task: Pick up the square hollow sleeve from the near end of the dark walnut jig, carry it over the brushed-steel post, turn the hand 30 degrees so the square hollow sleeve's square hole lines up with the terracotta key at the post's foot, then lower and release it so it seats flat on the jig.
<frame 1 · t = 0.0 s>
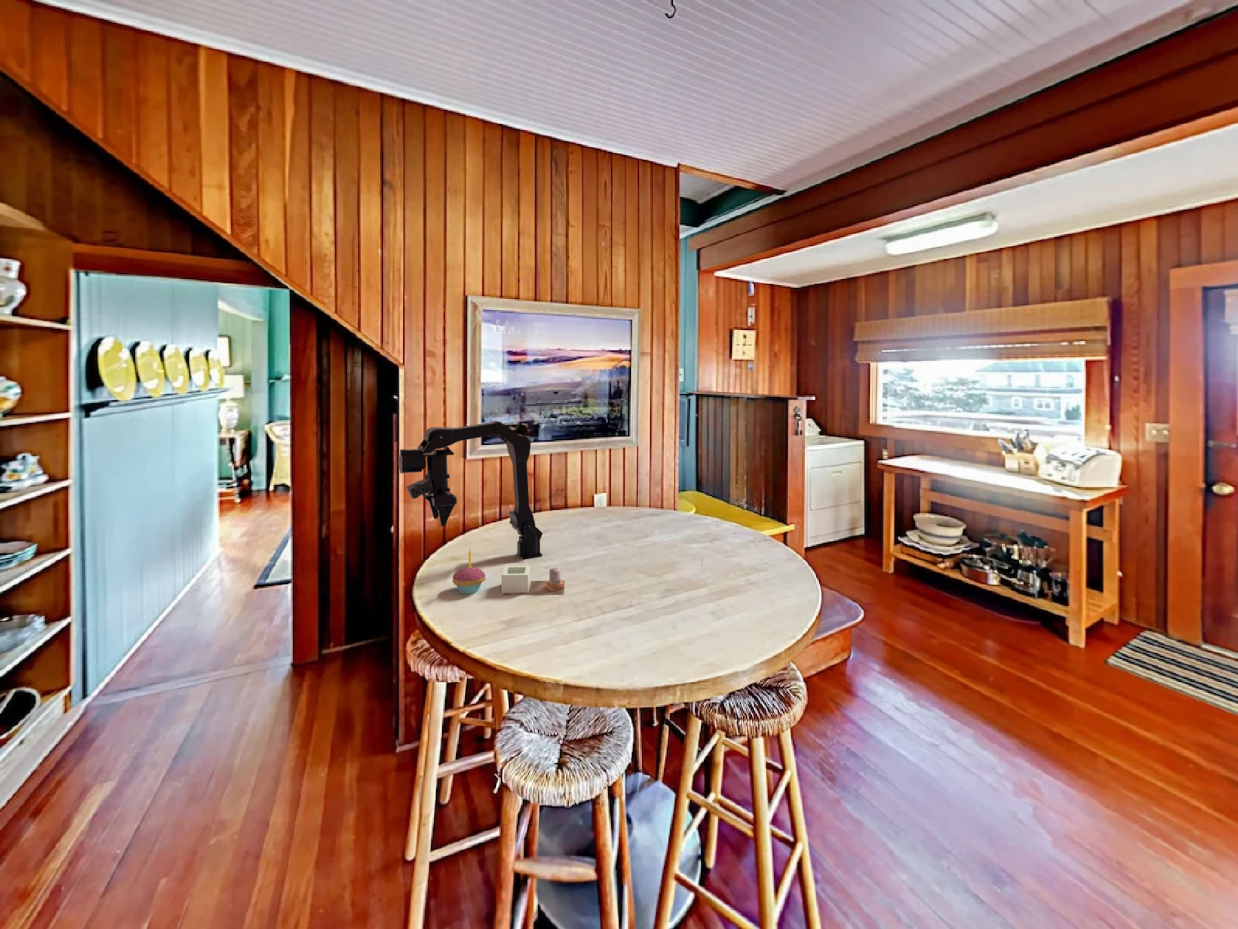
hand: (439, 522, 167), 15 cm above the table, fingers open, 9 cm apart
square hollow sleeve: (516, 587, 153), point 1 cm above the table, touching jig
jig: (534, 591, 154), on the table
cupcake: (469, 594, 152), on the table
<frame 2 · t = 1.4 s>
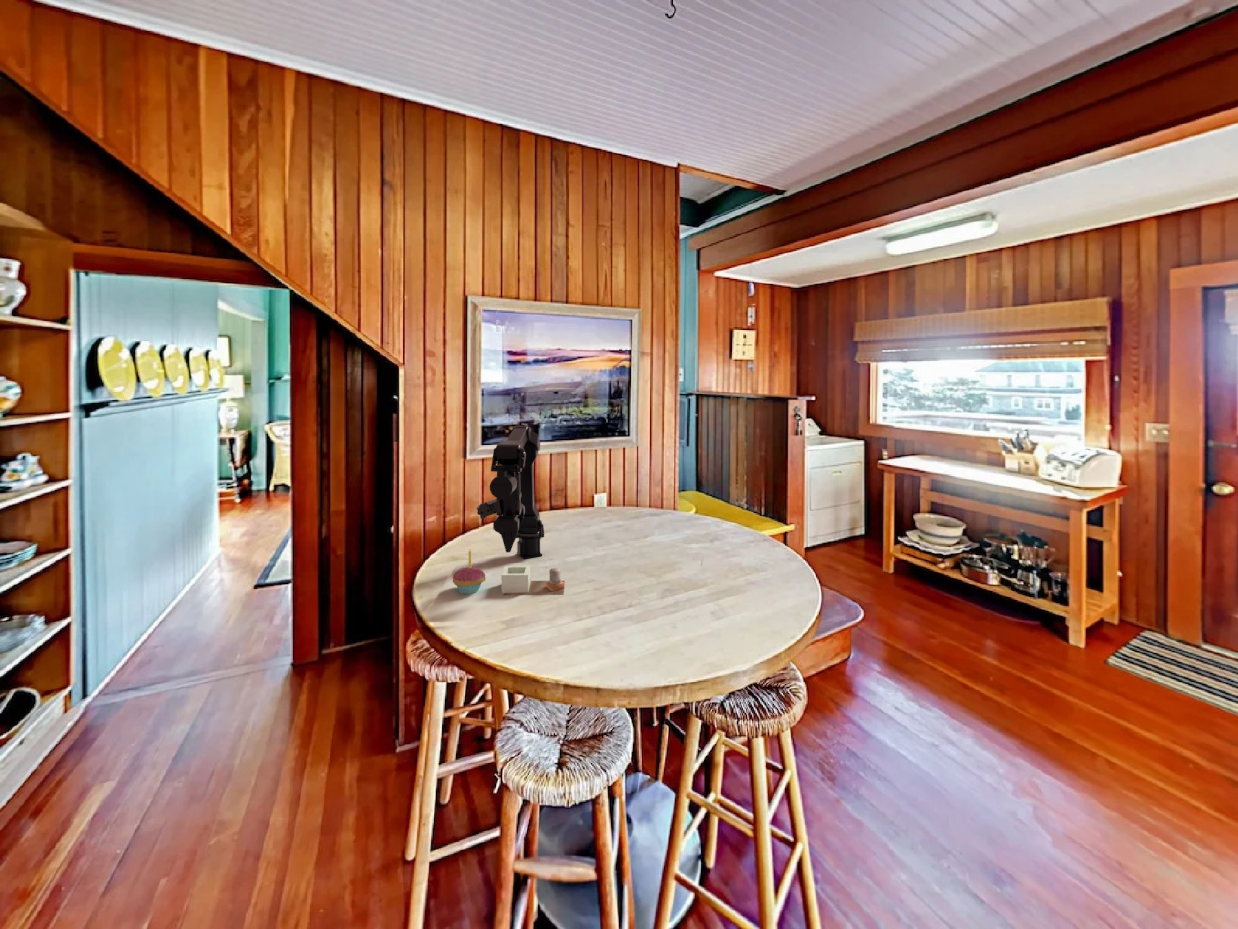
hand: (510, 546, 152), 12 cm above the table, fingers open, 9 cm apart
nothing on the table moved.
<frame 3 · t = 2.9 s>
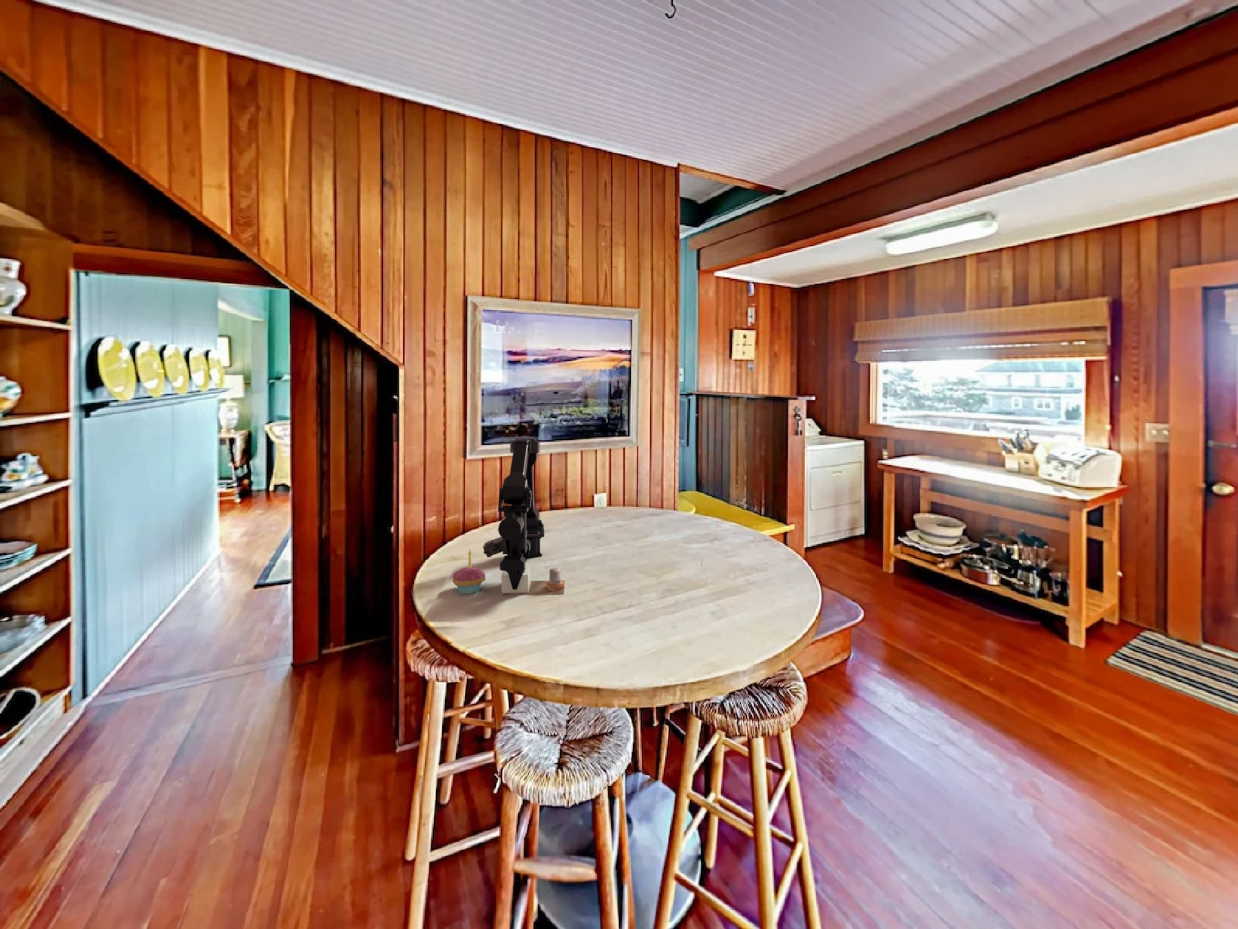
hand: (516, 584, 153), 2 cm above the table, fingers closed on square hollow sleeve, 7 cm apart
square hollow sleeve: (516, 587, 153), point 1 cm above the table, touching gripper, jig
everything else where it was.
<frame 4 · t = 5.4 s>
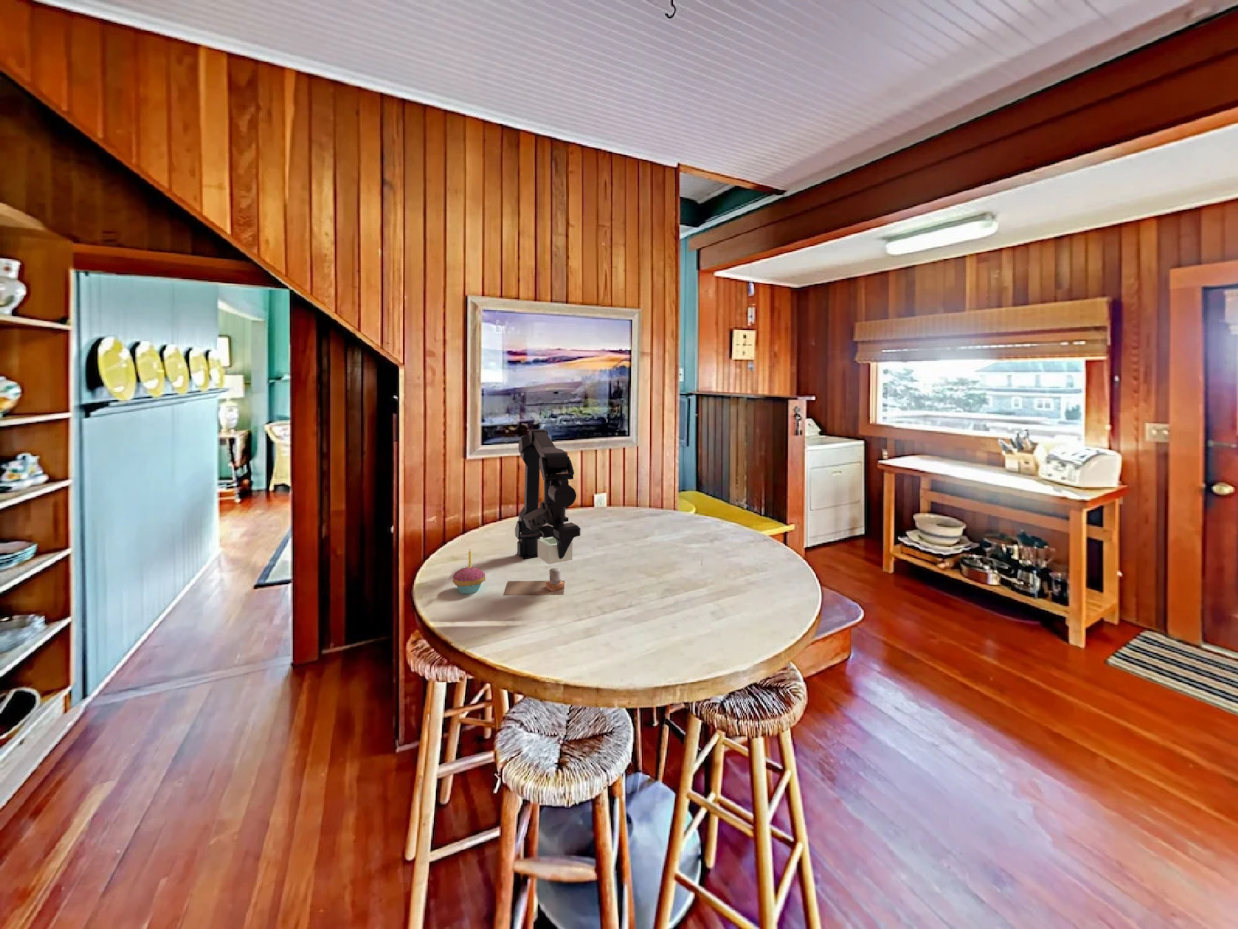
hand: (554, 554, 153), 10 cm above the table, fingers closed on square hollow sleeve, 7 cm apart
square hollow sleeve: (554, 558, 153), point 9 cm above the table, touching gripper
everything else where it was.
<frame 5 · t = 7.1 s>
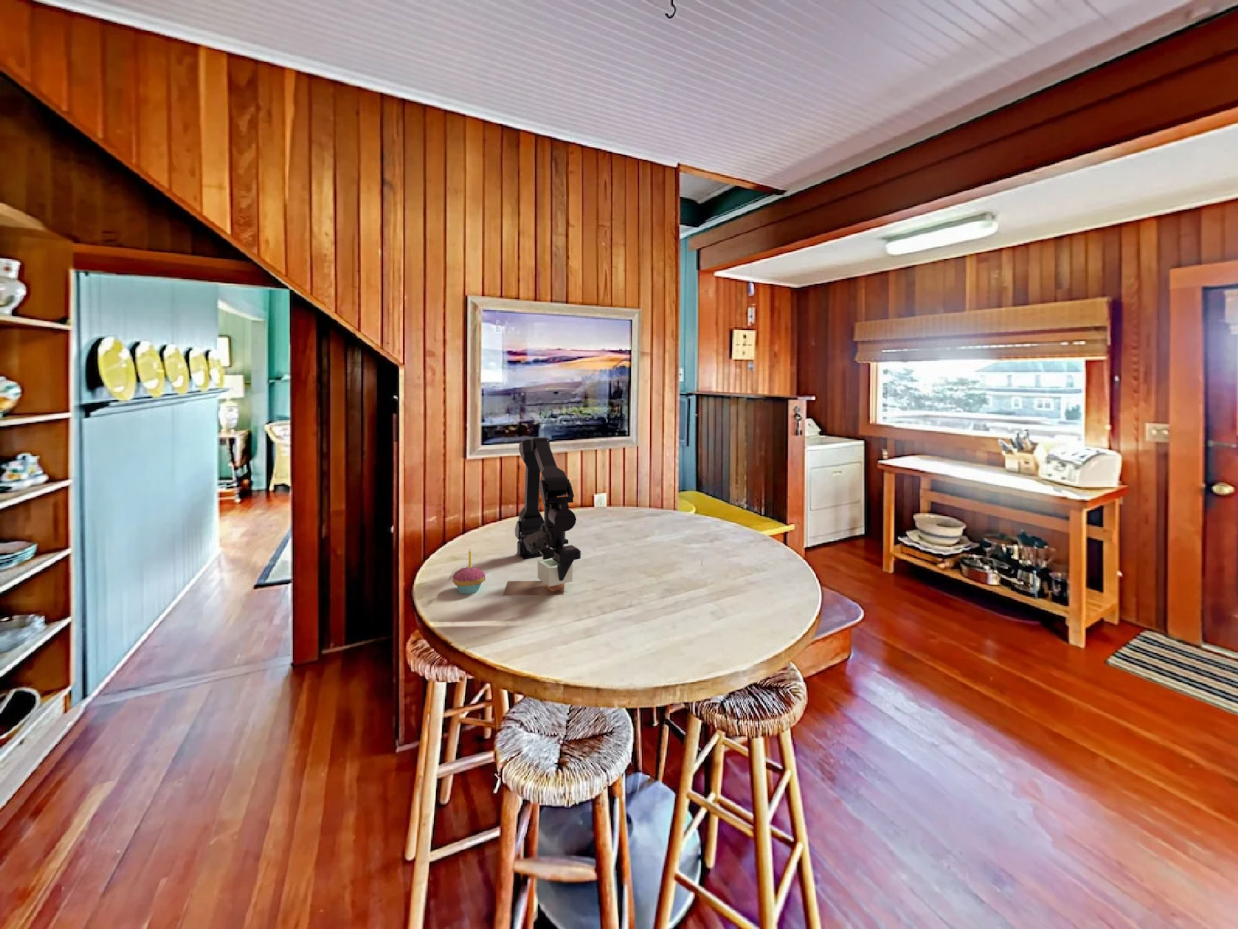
hand: (554, 576, 154), 4 cm above the table, fingers closed on square hollow sleeve, 7 cm apart
square hollow sleeve: (554, 579, 154), point 3 cm above the table, touching gripper
everything else where it was.
when the fingers open (4 cm above the table, at t = 8.2 s): square hollow sleeve drops 2 cm, resting on jig.
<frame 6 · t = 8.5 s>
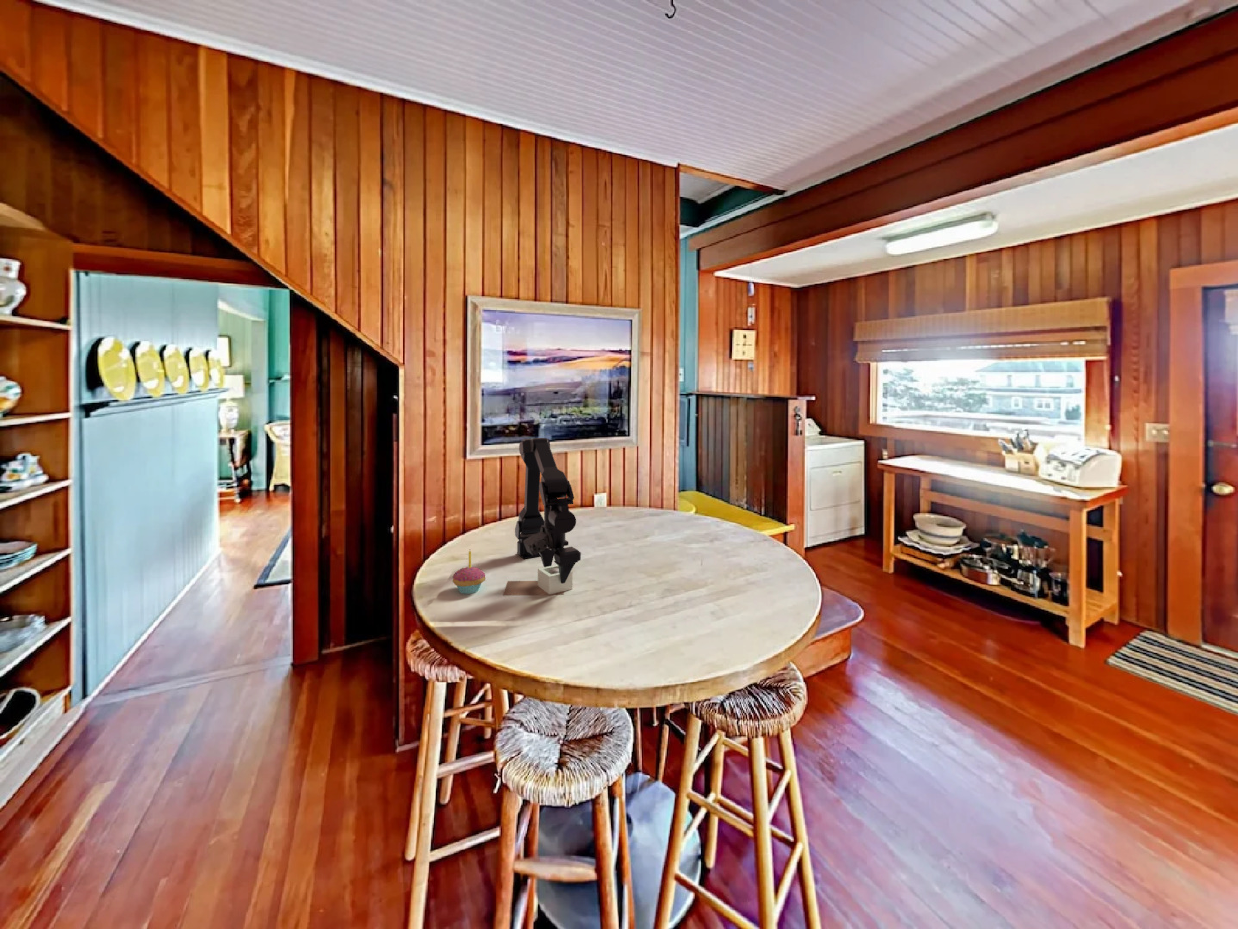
hand: (555, 577, 154), 4 cm above the table, fingers open, 9 cm apart
square hollow sleeve: (555, 587, 154), point 1 cm above the table, touching jig
everything else where it was.
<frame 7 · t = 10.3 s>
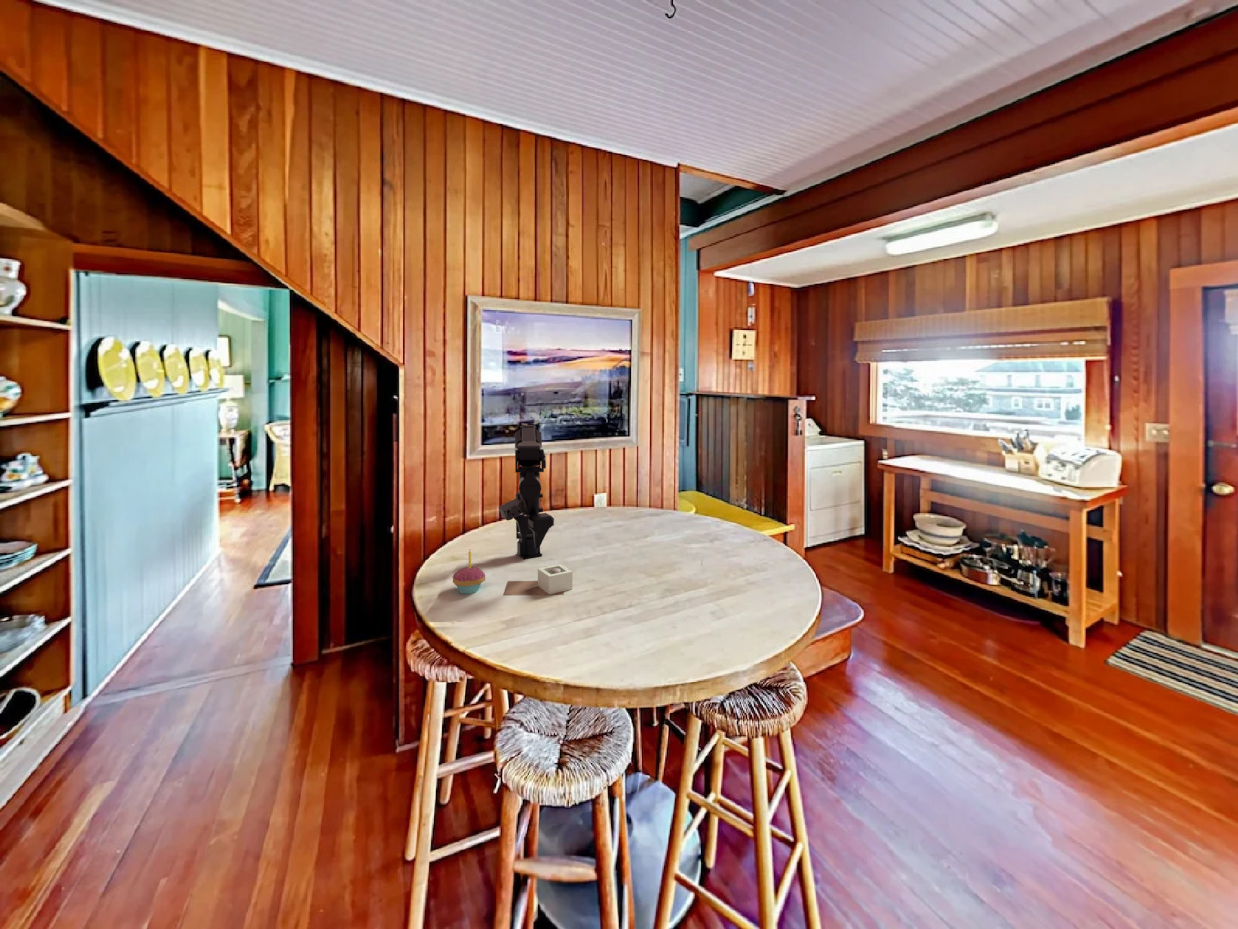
hand: (530, 543, 159), 11 cm above the table, fingers open, 9 cm apart
nothing on the table moved.
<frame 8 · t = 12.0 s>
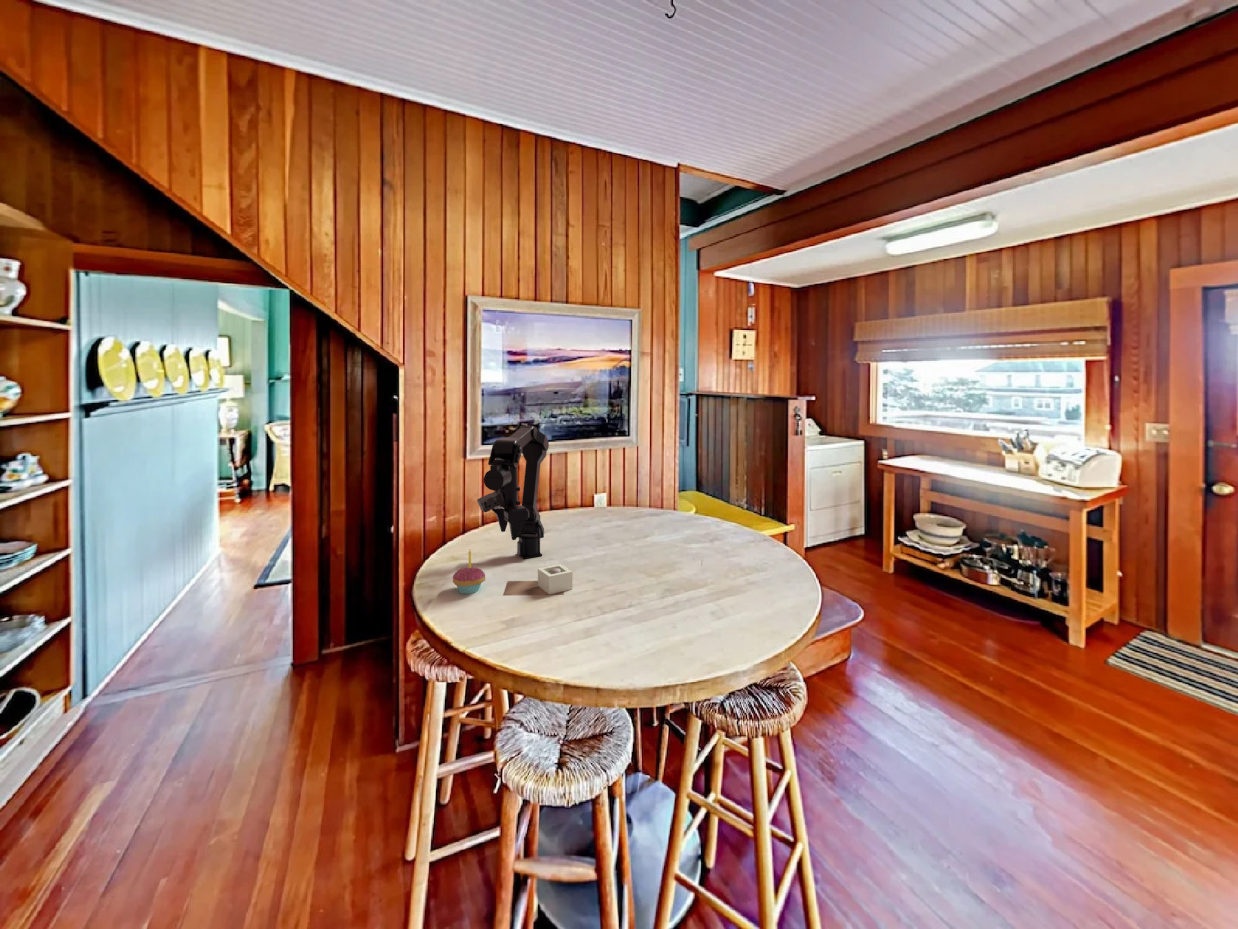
hand: (508, 535, 164), 12 cm above the table, fingers open, 9 cm apart
nothing on the table moved.
at the end: square hollow sleeve 0.0 cm from the target spot, point 1.0 cm above the table; the gripper is holding nothing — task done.
